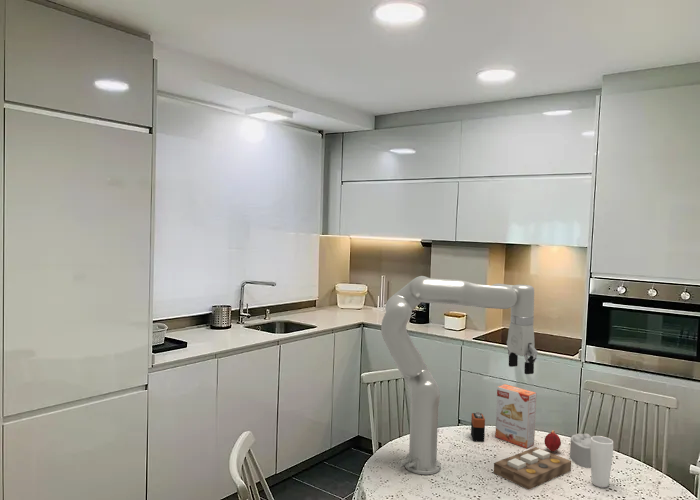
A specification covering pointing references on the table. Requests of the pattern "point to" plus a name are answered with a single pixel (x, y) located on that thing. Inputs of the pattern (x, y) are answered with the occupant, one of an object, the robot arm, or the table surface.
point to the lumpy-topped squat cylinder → (581, 450)
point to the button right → (541, 454)
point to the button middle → (529, 459)
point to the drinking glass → (601, 460)
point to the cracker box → (515, 415)
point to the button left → (516, 464)
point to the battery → (477, 427)
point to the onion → (552, 441)
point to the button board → (533, 470)
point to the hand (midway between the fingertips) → (520, 370)
